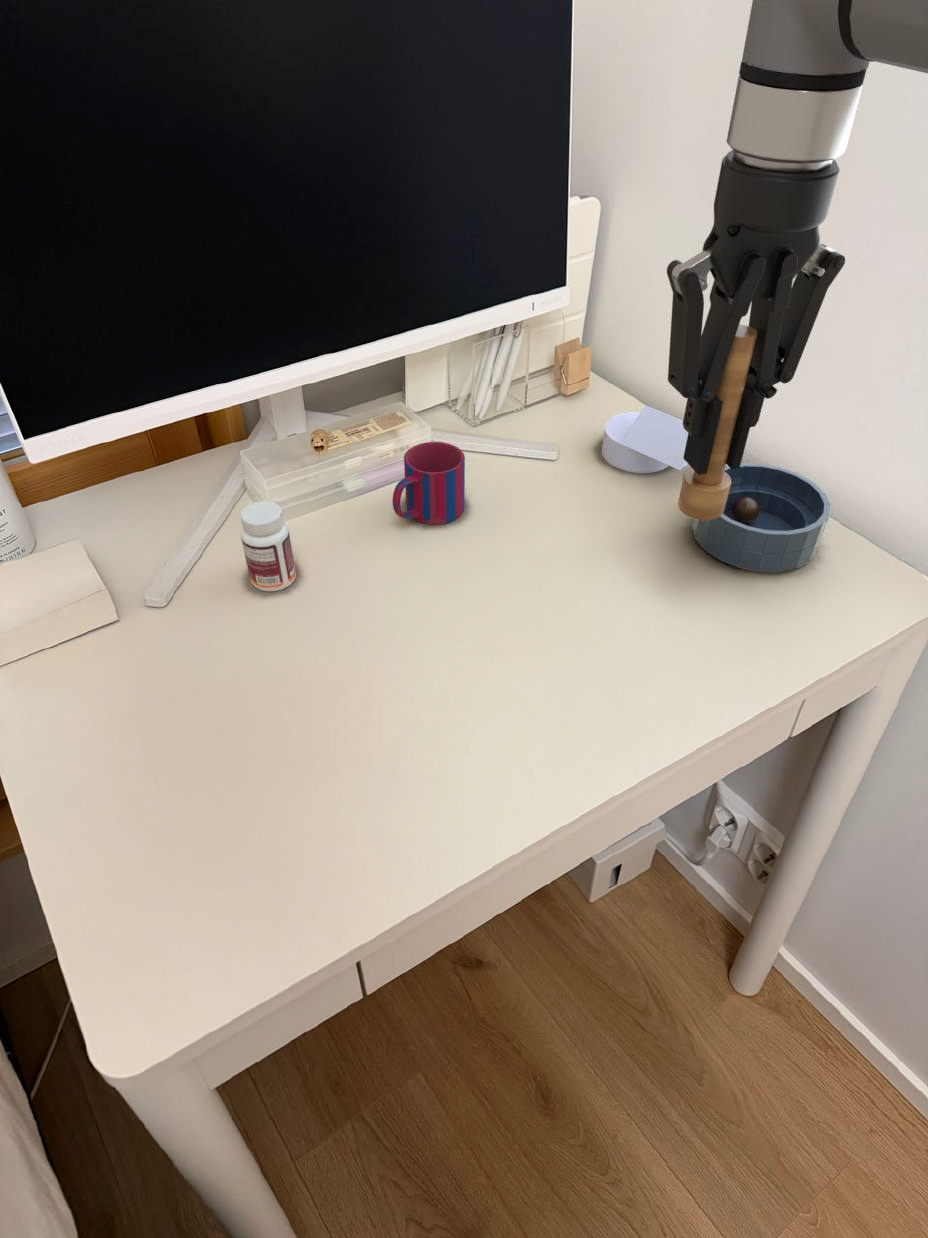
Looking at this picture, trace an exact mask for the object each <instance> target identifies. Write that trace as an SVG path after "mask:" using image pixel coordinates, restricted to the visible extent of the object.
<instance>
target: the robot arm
mask: <svg viewBox="0 0 928 1238" xmlns="http://www.w3.org/2000/svg"><path fill="white" fill-rule="evenodd" d="M871 62H876V63H881V64H884V65H890V66H893V67H897V68H903V69H907V70H911V71H915V72H919V73H923V74H928V0H752V2H751V8H750V13H749V18H748V24H747V30H746V35H745V41H744V46H743V52H742V58H741V62H740V66H739V71H738V78H737V84H736V89H735V94H734V100H733V105H732V110H731V116H730V121H729V127H728V131H727V137H726V144H727V145H728V146H729V148H730V149H731V150H730V151H728V152H727V153H726V154H725V155H724V156H723V158H722V159H721V164H720V170H719V176H718V179H717V186H716V190H715V197H714V202H713V225H712V228H711V229H710V230H711V231H710V232H709V234H708V236H707V237H706V239H705V240H704V242H703V246H702V250H701V252H699V253H697V254H696V255H694V256H693V257H691V258H690V259H688V260H686V261H685V262H682V261H681V260H679V259H675V260H672V261H671V262H669V263H668V265H667V267H666V275H667V278H668V281H669V285H670V288H671V291H672V303H671V317H670V318H671V319H670V320H671V322H670V335H669V336H670V337H669V352H668V366H667V367H668V368H667V369H668V370H667V382H668V383H669V384H670V385H671V386H672V388H673V389H675V390H676V391H677V392H678V393H679V394H680V395H681V396H682V397H683V398H684V399H687V400H686V405H685V410H684V414H683V419H682V420H683V427H684V429H685V430H686V431H687V432H688V437H687V442H686V447H685V452H684V457H683V459H684V460H685V461H686V462H687V463H688V466H689V467H690V468H691V467H692V468H693V470H694V471H695V472H696V473H697V474H698V475H702V474H707V470H708V466H709V461H710V457H711V453H712V448H713V444H714V440H715V435H716V431H717V426H718V422H719V418H720V413H721V409H722V405H723V402H722V401H721V400H720V399H719V398H718V397H717V396H716V393H717V390H718V387H719V384H720V381H721V378H722V375H723V372H724V369H725V366H726V363H727V360H728V357H729V354H730V351H731V348H732V345H733V342H734V339H735V336H736V333H737V329H738V326H739V325H740V324H741V320H742V319H743V318H744V317H745V316H747V315H748V313H749V319H748V320H749V321H748V326H750V327H752V328H754V329H755V330H756V331H757V333H758V334H757V338H756V342H755V346H754V350H753V355H752V359H751V363H750V367H749V371H748V375H747V379H746V383H745V387H744V392H743V396H742V400H741V404H740V408H739V412H738V416H737V420H736V424H735V428H734V433H733V437H732V441H731V445H730V449H729V453H728V457H727V461H726V466H727V465H728V466H729V467H730V468H731V469H737V468H740V465H741V463H742V460H743V457H744V453H745V449H746V445H747V441H748V437H749V434H750V429H751V428H755V427H756V425H758V423H759V421H760V417H761V412H762V409H763V405H764V401H765V399H768V400H769V399H771V398H773V397H774V396H775V395H776V394H777V392H778V389H777V388H776V387H775V386H774V385H777V384H779V383H782V384H788V383H789V382H791V381H792V380H793V379H794V377H795V374H796V372H797V369H798V366H799V364H800V361H801V358H802V356H803V354H804V351H805V349H806V346H807V343H808V341H809V339H810V335H811V333H812V330H813V328H814V326H815V323H816V320H817V318H818V315H819V312H820V310H821V307H822V306H823V303H824V300H825V297H826V294H827V292H828V289H829V288H830V286H831V285H832V283H833V282H834V280H836V278H837V276H838V275H839V273H840V272H841V270H842V269H843V268H844V266H845V263H846V256H845V255H843V254H841V253H840V252H838V251H836V250H834V249H833V248H831V247H830V246H828V245H826V244H824V243H820V241H821V235H820V230H819V226H820V225H822V224H823V223H824V222H825V220H826V219H827V217H828V213H829V210H830V206H831V202H832V199H833V195H834V192H835V188H836V185H837V181H838V177H839V174H840V167H839V165H838V162H837V161H836V159H837V158H839V157H840V156H842V155H844V154H845V152H846V150H847V147H848V143H849V139H850V135H851V132H852V128H853V124H854V120H855V116H856V112H857V108H858V105H859V101H860V97H861V93H862V89H863V86H864V81H865V77H866V73H867V70H868V68H869V65H870V63H871ZM709 272H710V274H711V276H712V278H713V282H712V286H711V289H710V292H709V302H710V306H709V309H708V313H707V316H706V319H705V322H704V323H703V321H704V310H705V299H704V291H706V290H707V289H708V283H707V282H708V274H709ZM749 310H750V312H749ZM703 324H704V326H703Z"/></svg>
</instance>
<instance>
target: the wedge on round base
mask: <svg viewBox="0 0 928 1238" xmlns="http://www.w3.org/2000/svg"><path fill="white" fill-rule="evenodd" d="M687 437H688V432H687V431H686V430H685V429H684V427H683V419H680V418H678V417H676V416H673V415H671V414H668V413H666V412H663V411H661V410H658V409H656V408H654V407H652V406H648V405H646V404H645V405H644V406H643V408H642V410H641V411H627V412H621V413H618V414H615V415H613V416H612V417H610V418H609V419H607V421H606V422H605V424H604V430H603V438H602V445H601V455H602V457H603V459H604V460H605V461H606V462H607V463H608V464H610V465H611V466H613V467H615V468H616V469H619V470H621V471H625V472H630V473H635V474H636V473H637V474H650V473H657V472H660V471H663V470H665V469H667V468H668V467H672V468H674V469H676V470H678V471H681V470H683V469H684V468H685V467H686V466H689V464H688V463H687V462H686V461H685V460H684V459H683V457H684V452H685V447H686V442H687Z"/></svg>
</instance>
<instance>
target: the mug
mask: <svg viewBox="0 0 928 1238" xmlns="http://www.w3.org/2000/svg"><path fill="white" fill-rule="evenodd" d="M465 466H466V456H465V453H464V452H463V451H462V450H461V449H460V448H459V447H458V446H456V445H454V444H451V443H449V442H443V441H442V442H441V441H426V442H421V443H418V444H416V445H414V446H411V447H410V448H409V449H407V450H406V452H405V453H404V455H403V469H404V478H402V479H401V480H400V481H398V483H397V484H396V485H395V487H394V490H393V493H392V508H393V511H394V513H395V514H396V515H397V516H398V517H400V518H402V519H406V520H411V519H412V520H414V521H416V522H418V523H421V524H423V525H424V524H425V525H429V526H430V525H431V526H433V525H434V526H439V525H440V526H441V525H446V524H449V523H452V522H454V521H456V520H458V519H459V518H460V517H461V516H462V515H463V514H464V511H465V486H466V485H465V484H466V483H465V481H466V480H465V478H466V477H465V475H466V474H465V472H466V467H465ZM404 490H405V508H406V509H405V510H406V512H403V510H402V506H401V505H402V504H401V499H402V495H403V492H404Z"/></svg>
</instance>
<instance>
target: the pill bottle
mask: <svg viewBox="0 0 928 1238" xmlns="http://www.w3.org/2000/svg"><path fill="white" fill-rule="evenodd" d="M239 514H240V515H239V516H240V521H241V526H242V528H241V531H240V540H241V544H242V548H243V551H244V553H243V554H244V557H245V562H246V566H247V571H248V576H249V579H250V582H251V584H252V586H254V588H255V589H257V590H259V591H263V592H276V591H281V590H284V589H285V588H287V587H289V586H291V585H292V584H293V583H294V581H295V580H296V576H297V572H296V571H297V570H296V564H295V559H294V553H293V547H292V542H291V541H292V540H291V534H290V529H289V525H288V524H287V523H286V521H284V516H283V511H282V508H281V506H280V505H279V504H277V503H276V502H273V501H270V500H260V501H255V502H251V503H249V504H247V505H246V506H244V507H243V508H242V510H241V511H240V513H239Z"/></svg>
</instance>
